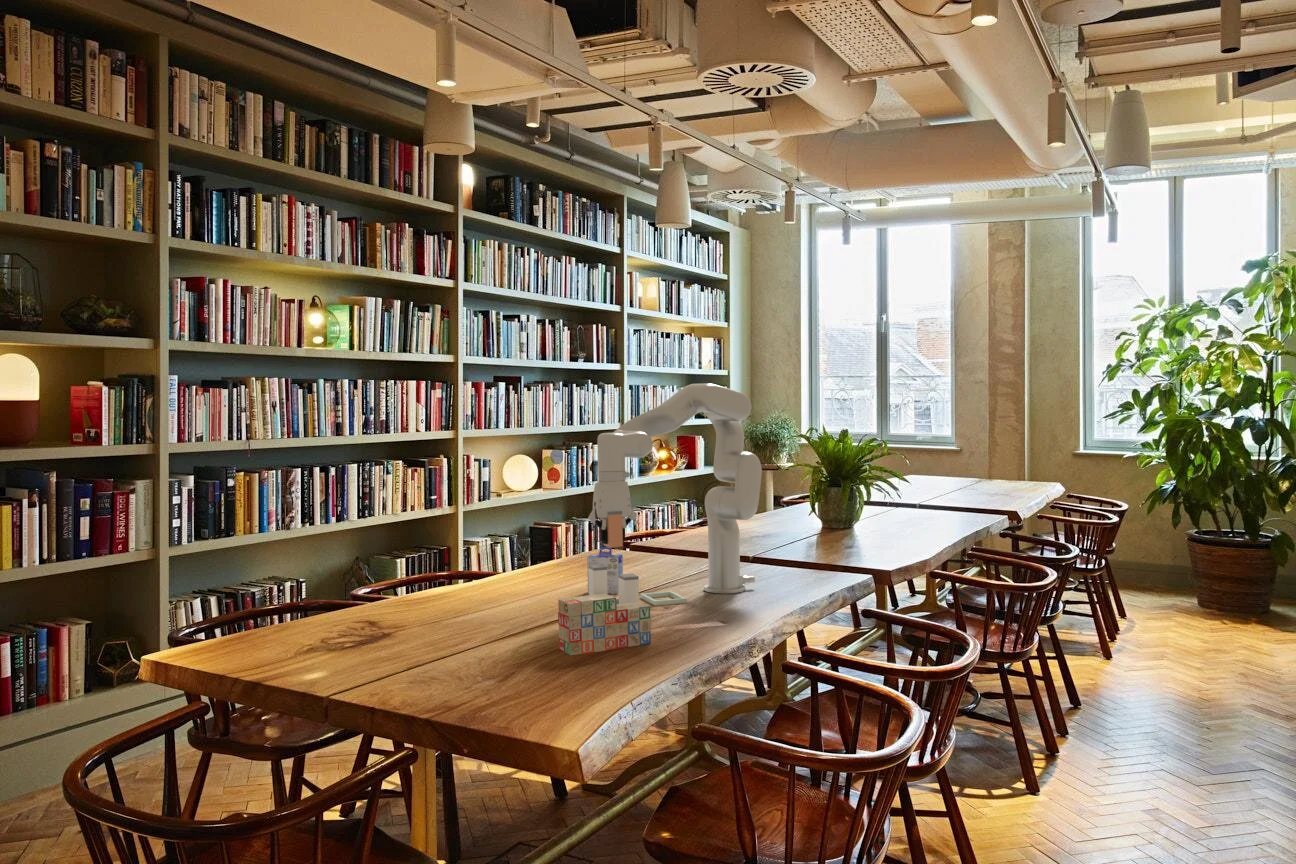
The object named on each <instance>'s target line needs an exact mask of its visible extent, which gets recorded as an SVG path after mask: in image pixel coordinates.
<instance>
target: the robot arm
mask: <svg viewBox="0 0 1296 864" xmlns="http://www.w3.org/2000/svg"><path fill="white" fill-rule="evenodd" d="M752 408H753V407H752V402H751V400H750V398H749V396H748V395H746V394H745V393H743V392H741V391H738V390H735V389H732V388H728V387H725V386H721V385H718V384H714V383H691V384H688V385H686V386H684V387H683V388H681V389H680V390H678V391H677V392H675V393H674V394H673V395H672V396H671V397H669V398H668V399H666V400H665V401H663V402H662V403H660V404H659V405H658V406H656V407H655V408H652V409H649V410H647V411H645V412H644V413H642V414H639V415H637V416H634V417H633V418H631V419H629V420H628V421H626V422H625V423H623V424H622V425H620V426H619V427H618V428H617V429H615V430H614V431H613V432H603V433H600V434H599V435H598V436H597V439H596V440H597V442H596V443H597V478H598V479H597V481H598V482H595V483H594V488H593V497H592V510H591V512H590V513H589V515H588V517H587V519H588V521H590V522H591V523H594V525H596V526H597V527H598V528H599V530H600V533H599V534H600V541H601V542H602V544H603V543H604V544H608V531H607V530H606V524H607V518H608V512H617V511H622V532H623V544H624V543H625V540H626V528H627V526H629V524H630V523H631V522H632V521H633V520H635V519H636V518H637V516H638V515H637V514H636V512H635V510H634V509H633V508H632V504H631V503H632V501H631V500H632V499H631V494H630V487H629V483H628V481H626V480H627V478H630V477H631V473H630V472H628V471H627V470H626V458H631V459H632V458H635V459H641V458H645V457H647V456H648V455H649V454H650V453H651V452H652V450H653V447H654V443H653V439H652V438H653V437H657V436H660V435H666V434H669V433H672V432H675V431H676V430H679V428H680V427H681V426H683V425H684V424H685V423H687V422H688V421H689V420H690V419H692V418H693V417H695V416H696V415H697V414H700V413H704V415H705V416H706V418H707V419H708V420H709V422H711V424H712V426H713V429H714V431H715V437H716V438H715V447H714V448H715V449H714V456H713V457H714V459H713V467H712V468H713V469H712V470H713V471H712V472H713V475H714V477H715V479H716V480H718V481H720V482H725V483H733V484H734V486H727V485H726V486H725V485H724V486H723V485H722V486H721V485H720V486H715V487H712V488H711V489H709V490H708V491H707V493H706V494H705V498H704V509H705V514H706V520H707V531H708V532H707V537H708V538H707V539H708V541H707V543H708V544H707V548H708V553H707V555H708V556H707V558H708V560H707V561H708V564H707V565H708V583H707V584H704V585H703V591H705V592H707V593H711V594H738V593H743V592H744V591H746V586H745V584H748V583H755V582H756V581H755V579H756V578H755V575H754V576H753V575H749V576H747V575H743V574H741V566H740V565H741V559H740V557H741V554H740V551H741V549H740V547H741V546H740V545H741V543H740V539H741V537H740V536H741V535H740V528H739V524H738V522H737V520H738V521H748V520H751V519H752V518H753V517H754V516H755V515H756V513H757V511H758V507H759V501H760V493H761V485H762V484H761V483H762V475H763V471H762V469H763V468H762V464H761V460H760V459H759V457H758V456H757V455H756V454H755V453H752V452H749V451H744V446H745V444H744V443H745V433H744V432H745V431H744V429H743V426H742V424H741V423H740V421H744V420H746V419H748V418H749V416H750V414H751V412H752ZM597 518H599V519H597Z"/></svg>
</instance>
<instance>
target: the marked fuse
mask: <svg viewBox="0 0 1296 864" xmlns="http://www.w3.org/2000/svg"><path fill="white" fill-rule="evenodd" d="M606 530H607V531H608V544H604V543H602V544H603V547H609V548H611V547H612V548H623V547H624V543H623V532H622V511H617V512H608V518H607V524H606Z"/></svg>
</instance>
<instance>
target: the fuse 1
mask: <svg viewBox="0 0 1296 864" xmlns="http://www.w3.org/2000/svg"><path fill="white" fill-rule="evenodd" d="M604 593H605V594H607V567H606V566H604V565H602V564H600V565H589V593H588V595H596V594H604ZM607 595H608V594H607Z"/></svg>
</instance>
